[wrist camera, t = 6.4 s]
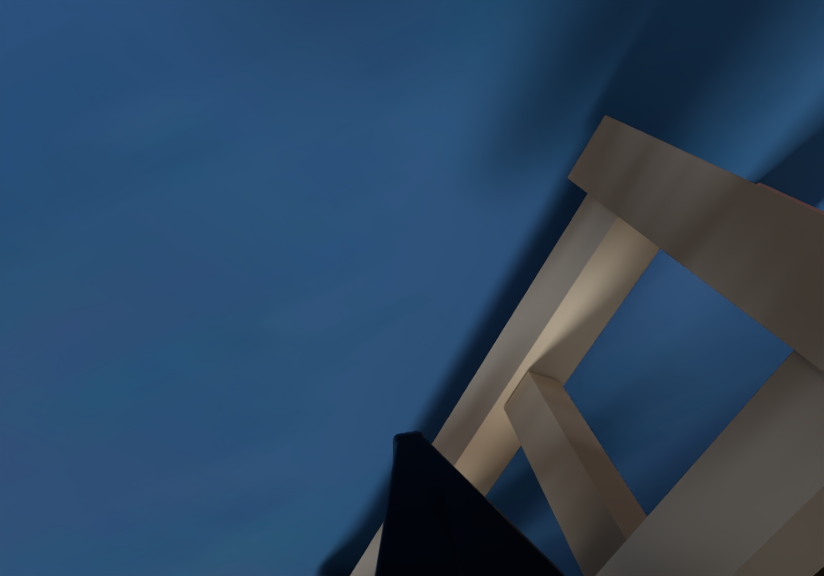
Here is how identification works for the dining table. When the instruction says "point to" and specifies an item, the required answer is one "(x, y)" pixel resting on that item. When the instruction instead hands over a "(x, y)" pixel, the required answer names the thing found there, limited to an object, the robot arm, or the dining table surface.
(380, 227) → the dining table surface
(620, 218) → the gate
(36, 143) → the dining table surface
